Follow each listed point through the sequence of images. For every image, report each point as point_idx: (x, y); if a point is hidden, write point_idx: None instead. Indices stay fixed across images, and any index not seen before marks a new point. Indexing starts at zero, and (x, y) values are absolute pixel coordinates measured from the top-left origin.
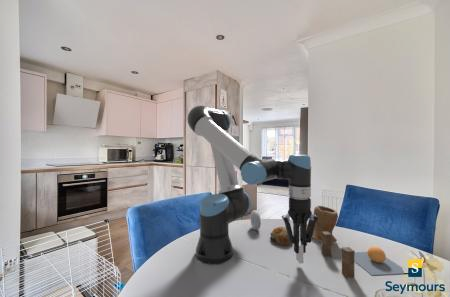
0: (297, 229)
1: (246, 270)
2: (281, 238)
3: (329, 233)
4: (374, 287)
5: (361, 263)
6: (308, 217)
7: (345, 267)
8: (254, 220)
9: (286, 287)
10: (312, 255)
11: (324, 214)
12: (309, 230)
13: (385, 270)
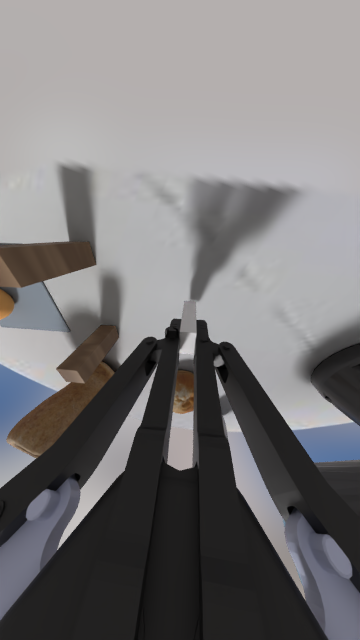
0: (210, 407)
1: (338, 307)
2: (190, 384)
3: (62, 373)
4: (22, 189)
5: (39, 293)
6: (70, 562)
7: (71, 251)
8: (227, 436)
9: (284, 217)
10: (141, 334)
11: (47, 440)
12: (128, 388)
13: None
